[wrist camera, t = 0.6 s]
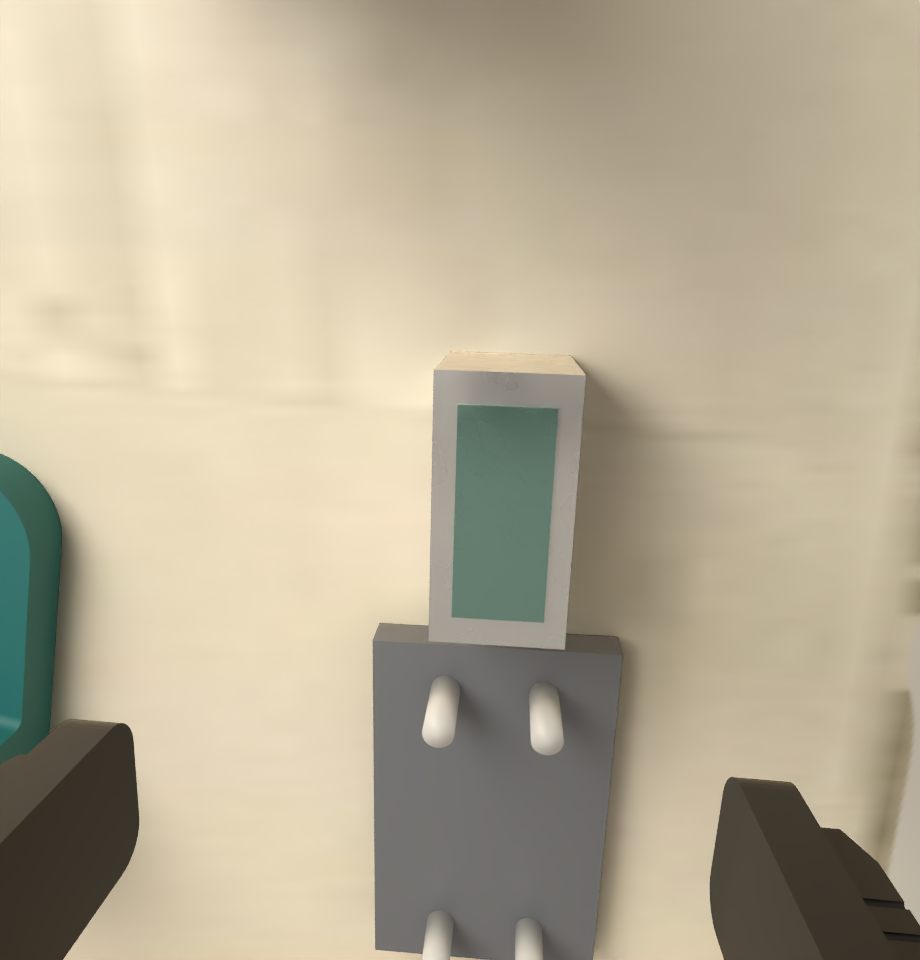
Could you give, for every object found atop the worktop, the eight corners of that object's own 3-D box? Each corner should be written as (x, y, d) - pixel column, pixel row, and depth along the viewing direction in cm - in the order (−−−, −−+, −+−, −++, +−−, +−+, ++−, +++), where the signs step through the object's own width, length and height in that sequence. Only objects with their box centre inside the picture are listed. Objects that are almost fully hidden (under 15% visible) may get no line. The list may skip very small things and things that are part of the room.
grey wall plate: (379, 623, 30) (356, 680, 25) (617, 637, 29) (635, 698, 25) (381, 921, 34) (362, 1014, 30) (588, 938, 34) (599, 1036, 29)
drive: (450, 350, 27) (433, 369, 21) (569, 355, 26) (586, 375, 20) (445, 570, 29) (428, 643, 23) (554, 576, 29) (565, 651, 23)
